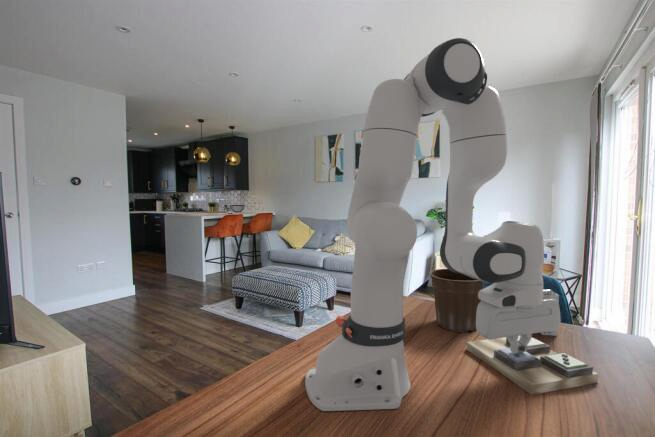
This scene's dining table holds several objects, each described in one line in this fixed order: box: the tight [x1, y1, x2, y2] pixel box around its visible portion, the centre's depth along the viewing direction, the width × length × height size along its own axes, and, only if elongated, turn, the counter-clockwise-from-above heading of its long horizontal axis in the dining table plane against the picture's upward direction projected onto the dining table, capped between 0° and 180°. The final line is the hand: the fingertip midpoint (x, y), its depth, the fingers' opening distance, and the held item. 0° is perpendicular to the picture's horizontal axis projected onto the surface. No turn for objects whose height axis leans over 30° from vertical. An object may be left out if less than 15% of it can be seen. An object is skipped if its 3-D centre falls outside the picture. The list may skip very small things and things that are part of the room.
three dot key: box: [546, 352, 587, 370], centre depth 71 cm, size 5×5×2 cm
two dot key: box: [500, 348, 535, 363], centre depth 74 cm, size 5×5×2 cm
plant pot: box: [429, 268, 485, 333], centre depth 100 cm, size 16×16×16 cm
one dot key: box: [516, 336, 546, 348], centre depth 80 cm, size 5×5×2 cm
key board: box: [466, 335, 599, 396], centre depth 76 cm, size 17×20×4 cm
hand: (518, 351), depth 73 cm, fingers closed
